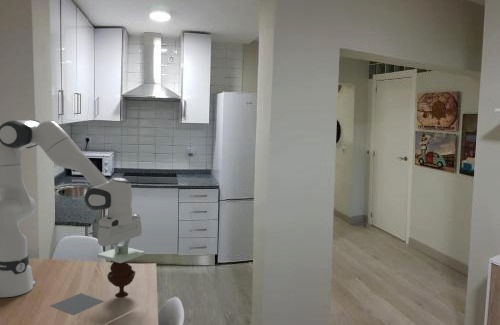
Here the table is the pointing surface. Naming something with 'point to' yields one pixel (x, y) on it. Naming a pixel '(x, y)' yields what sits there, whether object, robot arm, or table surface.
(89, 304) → the mat
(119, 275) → the ice cream bowl
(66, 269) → the table surface
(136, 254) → the lid
